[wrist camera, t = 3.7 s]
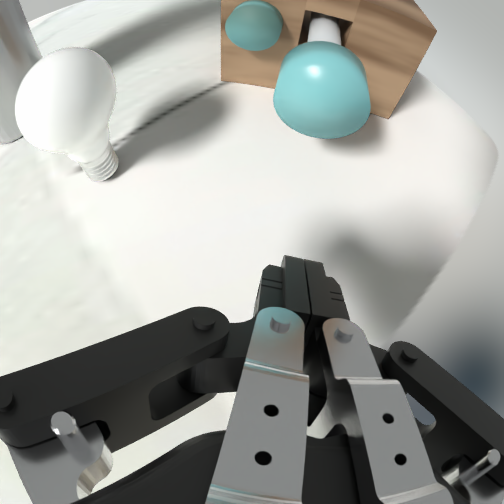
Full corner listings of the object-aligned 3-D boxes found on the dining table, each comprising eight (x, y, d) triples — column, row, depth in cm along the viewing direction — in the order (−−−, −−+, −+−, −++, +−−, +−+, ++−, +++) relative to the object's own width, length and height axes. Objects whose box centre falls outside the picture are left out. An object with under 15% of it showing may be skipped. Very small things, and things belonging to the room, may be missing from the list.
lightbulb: (65, 162, 20) (4, 66, 10) (132, 128, 21) (95, 16, 11) (77, 223, 18) (-11, 124, 8) (155, 183, 20) (108, 54, 9)
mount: (390, 131, 23) (444, 41, 13) (215, 91, 23) (214, -19, 13) (377, 66, 27) (408, -6, 17) (243, 35, 27) (249, -45, 17)
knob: (352, 147, 16) (385, 85, 11) (268, 127, 16) (280, 56, 11) (345, 39, 21) (359, -3, 16) (292, 26, 21) (300, -18, 16)
